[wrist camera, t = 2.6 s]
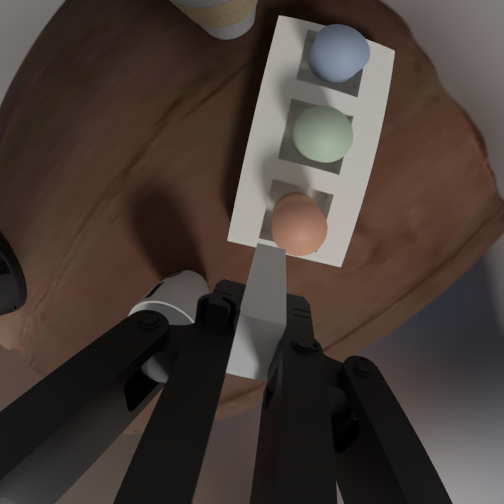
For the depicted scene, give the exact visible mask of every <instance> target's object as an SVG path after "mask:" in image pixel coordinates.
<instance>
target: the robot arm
mask: <svg viewBox="0 0 504 504" xmlns="http://www.w3.org/2000/svg"><path fill="white" fill-rule="evenodd" d="M26 298H27V290H26V284H25V280H24V276H23V273H22V271H21V268H20V266H19V263H18V261H17V259H16V258H15V256H14V254H13V253H12V251H11V250H10V248H9V247H8V246H7V245H6V244H5V243H4V242H3V241H1V240H0V316H1V315H4V314H7V313H11V312H14V311H17V310H18V309H19V308H21V307H22V306H23V305H24V304H25V302H26ZM226 373H229V374H234V375H238V376H242V377H247V378H251V379H256V380H261V381H265V380H266V378H267V375H268V381H267V385H266V387H265V390H264V392H263V395H262V397H261V399H260V402H259V404H261V405H262V411H261V419H260V428H259V436H258V444H257V452H256V460H255V467H254V476H253V482H252V490H251V496H250V503H249V504H337V490H336V481H337V484H338V487H339V490H340V493H341V496H342V499H343V502H344V504H452V501H451V499H450V497H449V495H448V493H447V491H446V489H445V487H444V485H443V483H442V481H441V479H440V477H439V475H438V473H437V471H436V469H435V467H434V466H433V464H432V462H431V460H430V458H429V456H428V455H427V453H426V450H425V449H424V447H423V445H422V443H421V441H420V440H419V438H418V436H417V434H416V432H415V430H414V429H413V427H412V425H411V424H410V422H409V420H408V418H407V416H406V415H405V413H404V411H403V409H402V408H401V406H400V404H399V403H398V401H397V399H396V397H395V396H394V394H393V392H392V391H391V389H390V387H389V386H388V384H387V382H386V381H385V379H384V377H383V376H382V374H381V372H380V371H379V369H378V368H377V366H376V365H375V364H374V363H373V362H371V361H370V360H368V359H367V358H364V357H361V356H351V357H348V358H347V359H346V360H345V361H344V363H342V362H339V361H337V360H334V359H332V358H330V357H328V356H326V355H324V354H323V350H322V347H321V345H320V344H319V343H318V341H317V340H315V339H314V333H313V325H312V319H311V311H310V304H309V303H308V302H307V300H306V299H305V298H304V297H300V296H296V295H291V294H287V293H286V250H285V249H281V248H277V247H273V246H269V245H265V244H261V243H257V247H256V250H255V254H254V258H253V262H252V266H251V269H250V273H249V277H248V281H247V284H246V285H245V284H241V283H237V282H233V281H229V280H225V279H224V280H222V281H220V282H219V283H217V284H216V287H215V289H214V291H213V293H212V294H206V295H203V296H201V297H200V298H199V299H198V302H197V309H196V317H195V322H194V323H192V324H188V325H171V324H169V321H168V319H167V318H166V316H164V315H163V314H161V313H160V312H157V311H154V310H140V311H137V312H135V313H132V314H131V315H130V316H128V317H127V318H125V319H124V320H123V321H121V322H120V323H118V324H117V325H116V326H114V327H113V328H112V329H110V330H109V331H107V332H106V333H105V334H103V335H102V336H101V337H99V338H98V339H96V340H95V341H94V342H92V343H91V344H90V345H88V346H87V347H85V348H84V349H83V350H81V351H80V352H79V353H77V354H76V355H75V356H73V357H72V358H71V359H69V360H68V361H66V362H65V363H64V364H62V365H61V366H60V367H58V368H57V369H56V370H54V371H53V372H52V373H50V374H49V375H48V376H46V377H45V378H44V379H43V380H41V381H40V382H38V383H37V384H36V385H35V386H33V387H32V388H31V389H29V390H28V391H27V392H25V393H24V394H23V395H22V396H20V397H19V398H18V399H16V400H15V401H14V402H12V403H11V404H10V405H9V406H7V407H6V408H5V409H3V410H2V411H1V412H0V504H54V503H55V502H56V501H57V500H58V499H59V498H60V497H61V496H62V495H63V494H64V493H65V492H66V491H67V490H68V489H69V488H70V487H71V486H72V485H73V484H74V483H75V482H76V481H77V480H78V479H79V478H80V477H81V476H82V475H83V474H84V473H85V472H86V471H87V469H88V468H89V467H90V466H91V465H92V464H93V463H94V462H95V461H96V460H97V459H98V458H99V457H100V456H101V455H102V454H103V453H104V452H105V450H106V449H107V448H108V447H109V446H110V445H111V444H112V443H113V442H114V441H115V439H117V438H118V436H119V435H120V434H121V433H122V432H123V431H124V430H125V429H126V428H127V427H128V426H129V424H130V423H131V422H132V421H133V420H134V419H135V418H136V417H137V416H138V415H139V414H140V412H141V411H142V410H143V409H144V408H145V407H146V406H147V405H148V404H149V402H150V401H151V400H152V399H153V398H154V397H155V396H156V395H157V394H158V392H159V391H160V390H161V389H162V388H163V387H164V388H163V390H162V393H161V395H160V397H159V399H158V401H157V404H156V406H155V408H154V410H153V413H152V415H151V417H150V419H149V421H148V424H147V426H146V428H145V430H144V433H143V435H142V437H141V440H140V442H139V444H138V446H137V449H136V451H135V454H134V456H133V458H132V460H131V463H130V465H129V467H128V470H127V472H126V474H125V477H124V479H123V481H122V484H121V487H120V489H119V491H118V493H117V496H116V498H115V501H114V503H113V504H192V503H193V500H194V496H195V492H196V488H197V484H198V480H199V476H200V472H201V469H202V465H203V461H204V457H205V453H206V449H207V445H208V441H209V437H210V433H211V430H212V426H213V422H214V418H215V414H216V410H217V406H218V402H219V398H220V394H221V390H222V386H223V382H224V378H225V374H226Z"/></svg>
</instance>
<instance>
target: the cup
mask: <svg viewBox="0 0 504 504" xmlns="http://www.w3.org/2000/svg"><path fill="white" fill-rule="evenodd" d="M206 294H209V289H208V285H207V282H206V281H205V279H204V278H203V277H202V276H201V275H199V274H198V273H196V272H193V271H189V270H185V271H181V272H178V273H175V274H173V275H170V276H168V277H167V278H165V279H164V280H163V281H161V282H160V283H158V284H157V285H156V286H154V287H153V288H152V289H151V290H150V291H149V292H148V293H147V294H146V295H145V296H144V297H143V298H142V299H141V300H140V301H139V302H138V303H137V304H136V305H135V306H134V307H133V309H132V310H131V311H130V313H129V316H130V315H131V314H132V313H135V312H137V311H140V310H154V311H157V312H160V313H161V314H163V315H164V316H166V318H167V319H168V321H169V324H171V325H188V324H192V323H194V322H195V317H196V309H197V302H198V299H199V298H200V297H201V296H203V295H206Z"/></svg>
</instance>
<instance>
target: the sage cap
mask: <svg viewBox="0 0 504 504" xmlns="http://www.w3.org/2000/svg"><path fill="white" fill-rule="evenodd" d="M291 138H292V143H293V145H294V147H295V149H296V150H297V151H298V152H299V153H300V154H301V155H302V156H304V157H306V158H308V159H311V160H315V161H318V162H325V163H327V162H334V161H337V160H339V159H341V158H342V157H343V156H345V155H346V154H347V152H348V151H349V149H350V148H351V145H352V142H353V130H352V126H351V124H350V122H349V120H348V119H347V117H346V116H345V115H344V114H343V113H342V112H341V111H339V110H337V109H336V108H333V107H330V106H325V105H319V106H314V107H311V108H309V109H307V110H306V111H305V112H304V113H302V115H301V116H300V117H299V118H298V120H297V121H296V122H295V124H294V126H293V128H292V133H291Z"/></svg>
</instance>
